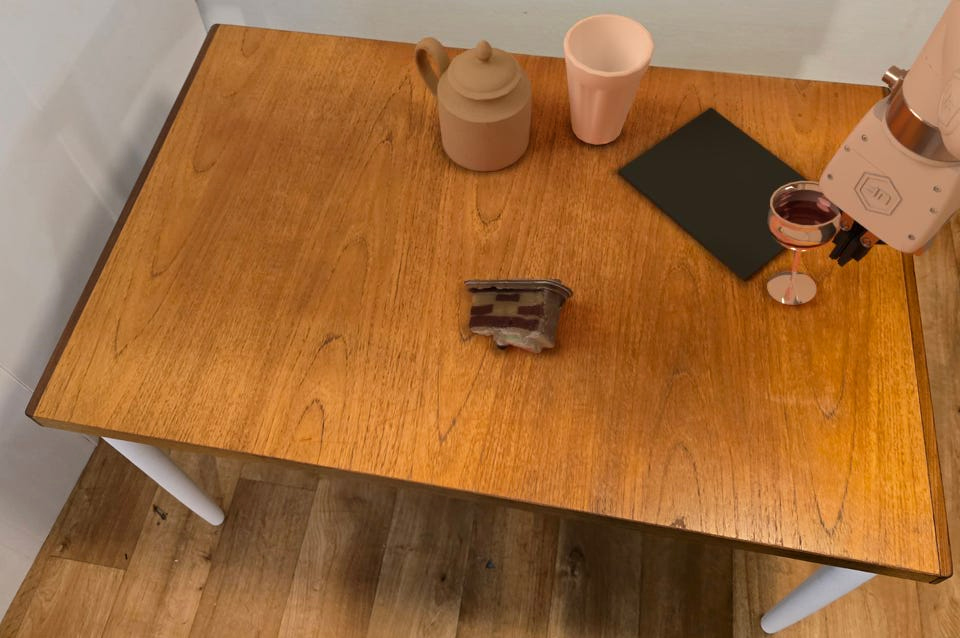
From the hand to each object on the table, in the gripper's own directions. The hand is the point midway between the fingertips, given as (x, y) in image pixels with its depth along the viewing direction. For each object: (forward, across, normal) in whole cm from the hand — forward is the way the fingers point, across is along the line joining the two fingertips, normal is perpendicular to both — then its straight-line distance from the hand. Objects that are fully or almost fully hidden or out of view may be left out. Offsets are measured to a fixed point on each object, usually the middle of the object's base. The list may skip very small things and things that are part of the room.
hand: (844, 254), depth 72 cm
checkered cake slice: (+10, -18, -26) cm, 33 cm away
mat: (+10, -16, +5) cm, 20 cm away
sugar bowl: (+10, -42, -13) cm, 45 cm away
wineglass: (+9, -2, 0) cm, 10 cm away
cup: (+10, -33, 0) cm, 35 cm away
